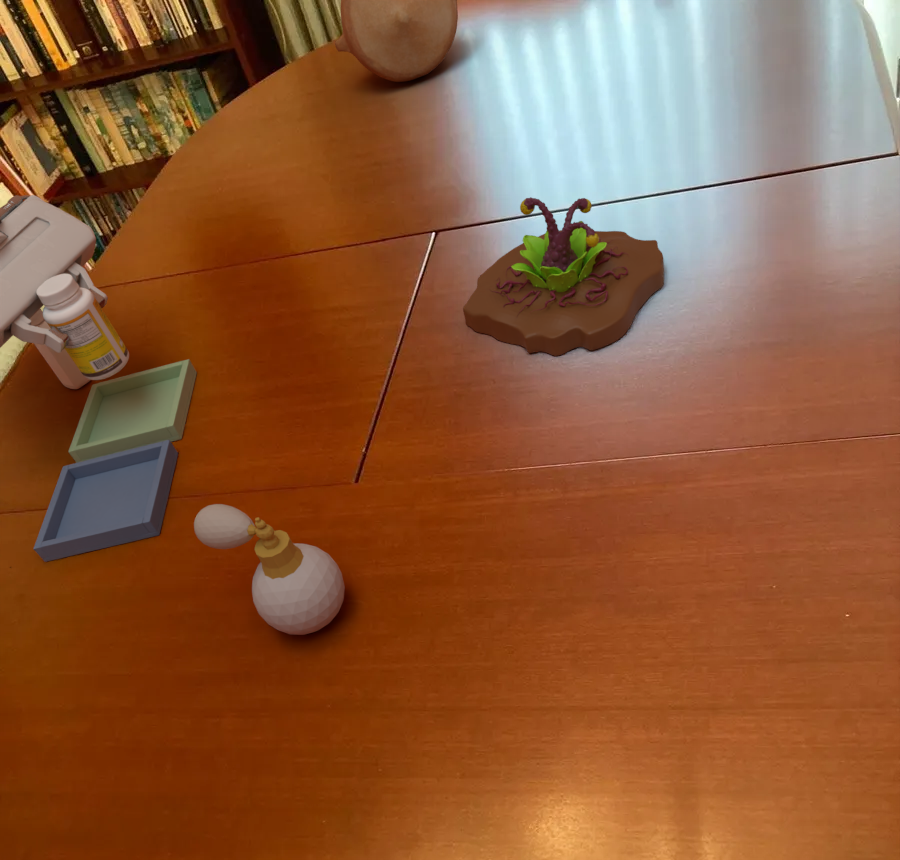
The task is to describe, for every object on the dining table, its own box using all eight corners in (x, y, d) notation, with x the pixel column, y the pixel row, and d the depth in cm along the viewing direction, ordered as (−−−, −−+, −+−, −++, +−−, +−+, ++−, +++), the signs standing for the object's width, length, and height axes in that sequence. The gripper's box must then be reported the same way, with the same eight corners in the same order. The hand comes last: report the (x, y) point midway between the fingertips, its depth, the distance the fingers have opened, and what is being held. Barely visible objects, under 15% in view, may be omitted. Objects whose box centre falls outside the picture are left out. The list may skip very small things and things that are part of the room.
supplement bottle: (103, 350, 99) (50, 268, 92) (140, 351, 97) (90, 267, 89) (74, 382, 96) (17, 300, 89) (112, 384, 94) (57, 300, 86)
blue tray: (44, 562, 89) (32, 548, 87) (73, 479, 97) (62, 466, 95) (159, 535, 87) (149, 521, 85) (178, 453, 95) (169, 439, 94)
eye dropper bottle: (59, 397, 109) (-2, 313, 101) (62, 373, 113) (4, 290, 104) (91, 385, 109) (34, 300, 100) (93, 362, 113) (38, 278, 104)
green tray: (78, 465, 99) (67, 451, 97) (101, 397, 107) (92, 384, 105) (181, 439, 97) (172, 425, 95) (197, 372, 105) (189, 358, 103)
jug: (321, 40, 136) (301, 18, 158) (420, 117, 145) (388, 87, 168) (393, -93, 128) (361, -95, 150) (492, -1, 138) (448, -17, 160)
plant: (535, 239, 105) (517, 144, 97) (689, 256, 94) (684, 151, 86) (441, 338, 96) (412, 243, 88) (598, 368, 86) (583, 264, 78)
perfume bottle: (353, 642, 71) (298, 541, 63) (242, 662, 73) (173, 567, 64) (357, 574, 76) (306, 472, 67) (253, 594, 78) (190, 497, 69)
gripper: (21, 209, 97) (133, 286, 100) (-107, 320, 86) (23, 403, 90) (25, 166, 92) (143, 249, 95) (-111, 279, 81) (28, 368, 85)
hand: (84, 325), depth 92 cm, fingers closed on supplement bottle, 5 cm apart
